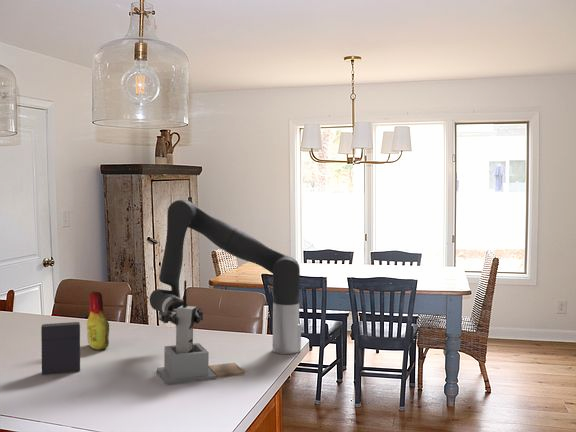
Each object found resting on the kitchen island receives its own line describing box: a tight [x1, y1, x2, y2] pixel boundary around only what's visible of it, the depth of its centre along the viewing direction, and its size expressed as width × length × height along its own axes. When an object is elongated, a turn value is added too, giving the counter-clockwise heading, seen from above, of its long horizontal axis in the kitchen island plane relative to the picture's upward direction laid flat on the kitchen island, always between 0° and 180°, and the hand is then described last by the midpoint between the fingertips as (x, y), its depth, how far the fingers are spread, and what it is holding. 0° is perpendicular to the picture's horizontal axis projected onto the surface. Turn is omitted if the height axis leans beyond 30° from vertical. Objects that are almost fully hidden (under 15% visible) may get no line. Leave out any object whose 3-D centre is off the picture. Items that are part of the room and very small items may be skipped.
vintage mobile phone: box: [175, 280, 197, 354], centre depth 176 cm, size 4×5×25 cm
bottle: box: [86, 291, 110, 351], centre depth 205 cm, size 12×6×20 cm, turn 39°
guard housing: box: [156, 342, 217, 386], centre depth 177 cm, size 15×14×8 cm
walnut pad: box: [208, 362, 246, 379], centre depth 181 cm, size 9×10×1 cm
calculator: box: [40, 321, 81, 376], centre depth 178 cm, size 11×4×15 cm, turn 111°
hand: (187, 320), depth 174 cm, fingers closed on vintage mobile phone, 6 cm apart
